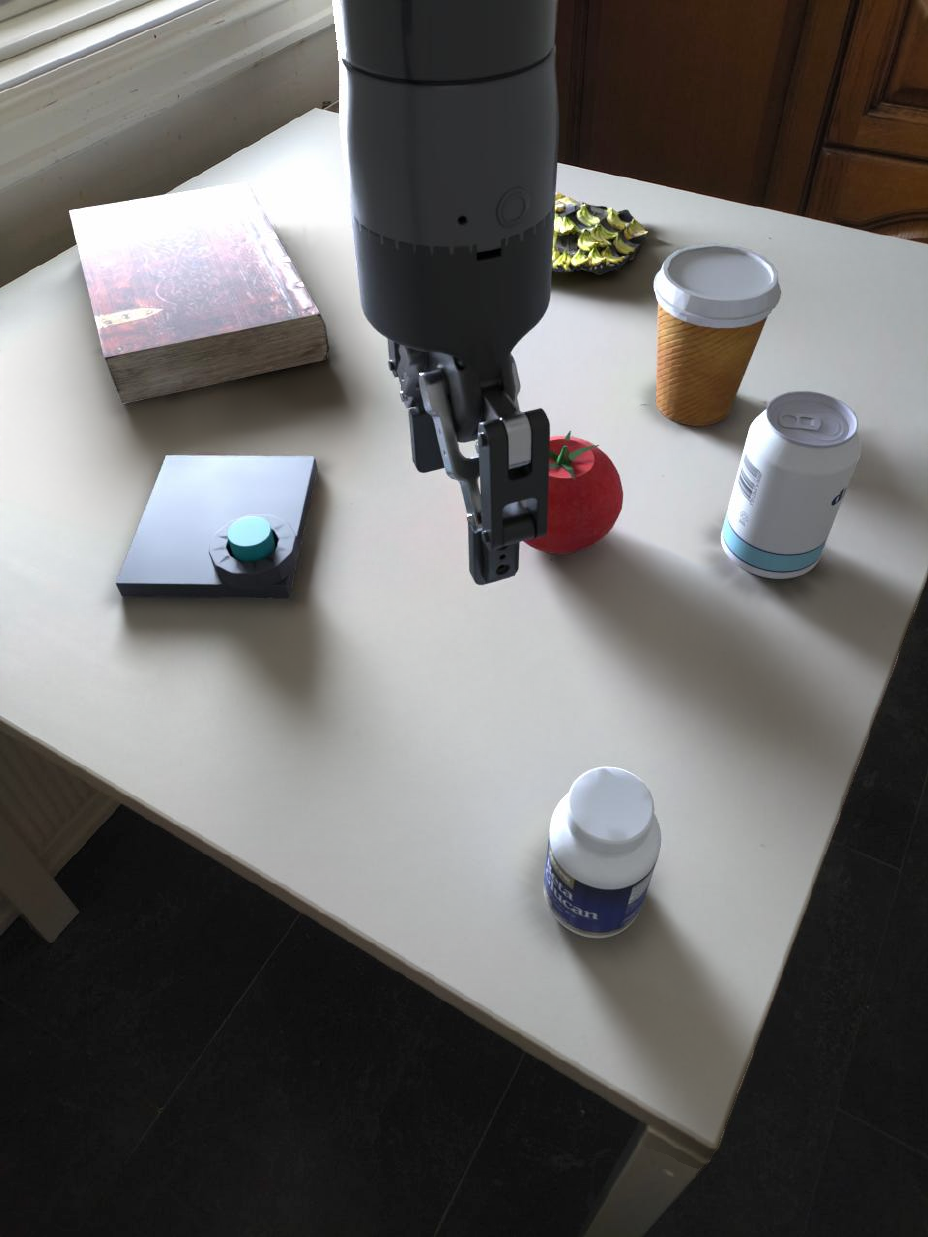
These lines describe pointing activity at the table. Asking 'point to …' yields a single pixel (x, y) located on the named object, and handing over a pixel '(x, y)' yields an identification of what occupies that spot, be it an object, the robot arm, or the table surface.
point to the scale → (219, 527)
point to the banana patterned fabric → (593, 237)
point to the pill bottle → (601, 853)
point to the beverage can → (790, 484)
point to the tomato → (579, 496)
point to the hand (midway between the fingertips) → (462, 518)
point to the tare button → (251, 539)
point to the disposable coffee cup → (709, 327)
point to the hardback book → (193, 291)
